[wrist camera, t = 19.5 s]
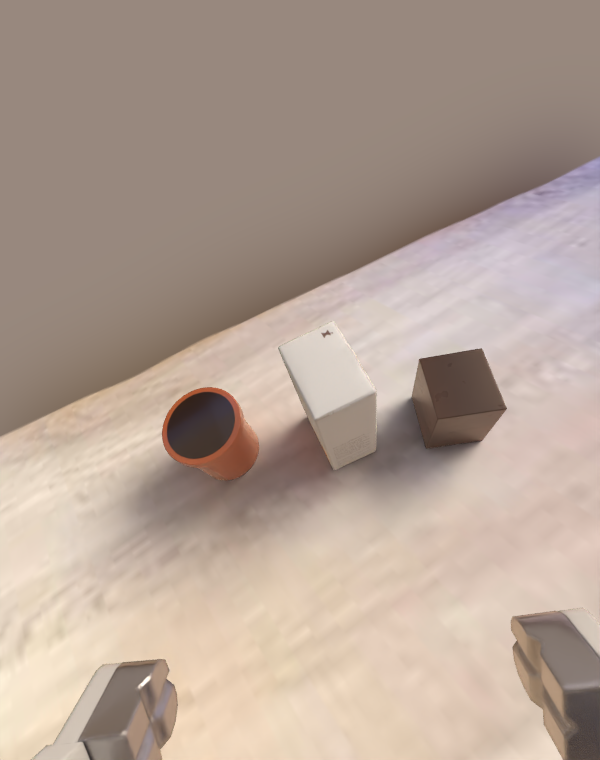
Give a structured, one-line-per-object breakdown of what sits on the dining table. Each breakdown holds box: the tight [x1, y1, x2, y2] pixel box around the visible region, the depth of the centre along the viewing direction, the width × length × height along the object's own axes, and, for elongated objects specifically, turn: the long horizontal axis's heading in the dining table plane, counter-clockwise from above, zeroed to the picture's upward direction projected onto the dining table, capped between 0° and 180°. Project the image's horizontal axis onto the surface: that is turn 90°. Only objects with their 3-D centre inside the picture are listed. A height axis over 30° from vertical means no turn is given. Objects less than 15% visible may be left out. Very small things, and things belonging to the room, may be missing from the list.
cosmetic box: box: [278, 321, 377, 470], centre depth 27 cm, size 6×4×12 cm
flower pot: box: [162, 387, 259, 480], centre depth 31 cm, size 6×6×7 cm
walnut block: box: [412, 349, 507, 448], centre depth 29 cm, size 5×5×6 cm
